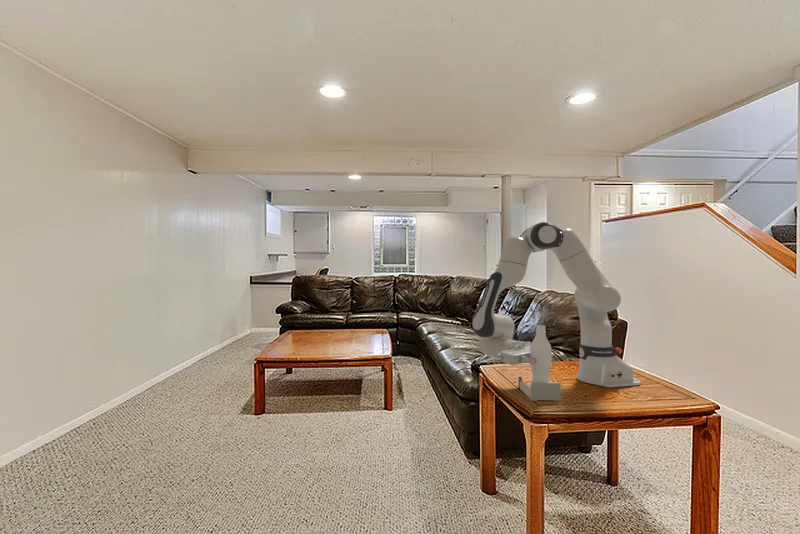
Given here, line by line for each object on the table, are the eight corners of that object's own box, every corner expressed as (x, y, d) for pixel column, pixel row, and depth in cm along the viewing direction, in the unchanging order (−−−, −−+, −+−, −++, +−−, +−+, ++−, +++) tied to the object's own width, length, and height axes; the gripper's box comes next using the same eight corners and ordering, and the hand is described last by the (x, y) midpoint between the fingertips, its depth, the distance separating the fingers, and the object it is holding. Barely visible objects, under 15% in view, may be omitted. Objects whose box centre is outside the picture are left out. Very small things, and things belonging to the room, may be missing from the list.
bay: (544, 387, 141) (544, 371, 141) (560, 400, 127) (560, 383, 127) (518, 387, 141) (518, 371, 141) (532, 400, 127) (532, 383, 126)
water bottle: (532, 398, 128) (532, 326, 128) (528, 391, 135) (528, 323, 135) (554, 399, 127) (554, 327, 127) (548, 392, 134) (548, 324, 134)
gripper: (492, 346, 137) (522, 354, 125) (530, 340, 148) (561, 347, 136) (492, 363, 137) (522, 373, 125) (530, 356, 148) (561, 364, 136)
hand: (542, 359), depth 131 cm, fingers closed on water bottle, 7 cm apart
